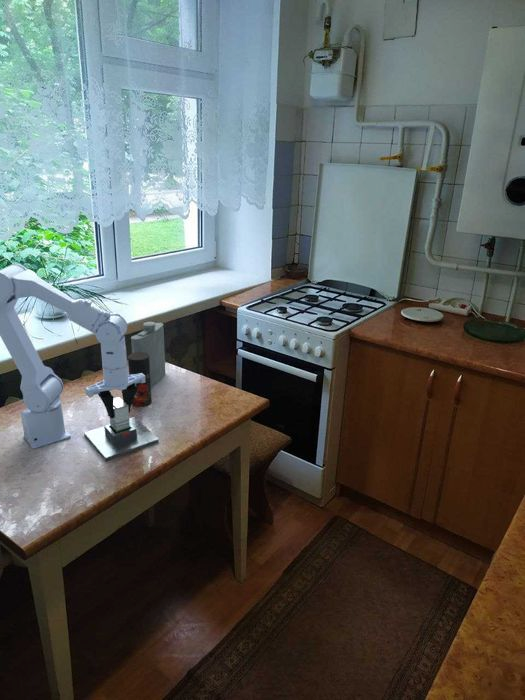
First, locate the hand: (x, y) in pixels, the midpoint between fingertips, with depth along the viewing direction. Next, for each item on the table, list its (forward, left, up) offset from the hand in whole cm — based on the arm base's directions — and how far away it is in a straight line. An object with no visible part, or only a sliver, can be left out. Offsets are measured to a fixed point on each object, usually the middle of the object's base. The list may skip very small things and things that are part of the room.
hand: (119, 414), depth 125 cm
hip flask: (+22, +26, -8) cm, 35 cm away
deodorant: (+13, +15, -8) cm, 21 cm away
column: (0, 0, -5) cm, 5 cm away
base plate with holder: (0, 0, -7) cm, 7 cm away
